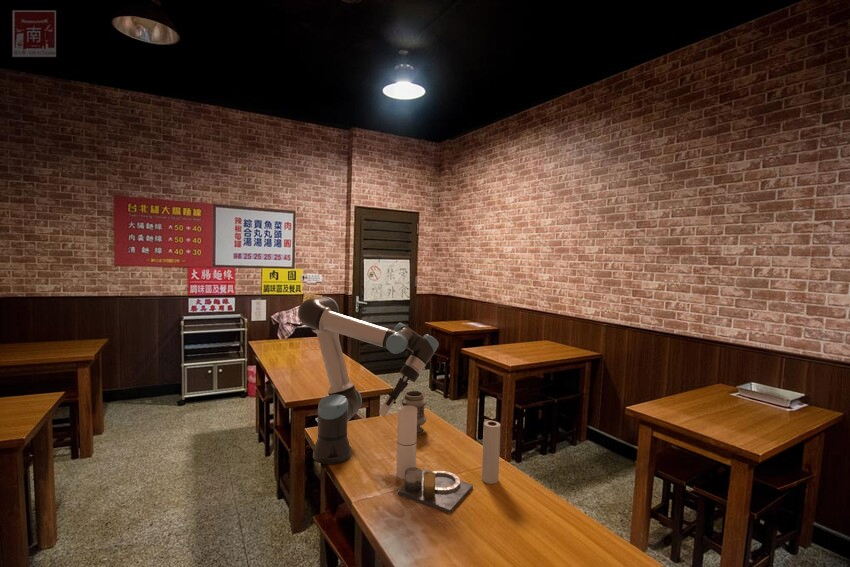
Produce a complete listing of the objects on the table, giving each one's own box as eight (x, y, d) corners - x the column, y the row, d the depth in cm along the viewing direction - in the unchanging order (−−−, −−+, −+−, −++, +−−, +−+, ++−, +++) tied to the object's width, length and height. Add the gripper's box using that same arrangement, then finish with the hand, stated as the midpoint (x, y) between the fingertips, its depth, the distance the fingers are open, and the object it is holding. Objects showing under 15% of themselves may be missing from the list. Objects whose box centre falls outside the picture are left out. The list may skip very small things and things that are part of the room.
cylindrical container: (392, 476, 155) (394, 409, 153) (402, 467, 161) (404, 404, 160) (409, 481, 151) (411, 413, 150) (418, 472, 158) (420, 407, 156)
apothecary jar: (396, 433, 193) (397, 395, 192) (405, 424, 204) (406, 388, 203) (421, 437, 189) (422, 398, 188) (429, 427, 201) (430, 390, 200)
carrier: (396, 494, 143) (397, 470, 142) (425, 470, 160) (425, 449, 159) (450, 513, 133) (450, 488, 132) (474, 486, 149) (475, 463, 149)
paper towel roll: (498, 485, 150) (500, 427, 149) (481, 483, 151) (483, 425, 150) (498, 475, 157) (500, 419, 156) (482, 473, 158) (484, 418, 157)
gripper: (422, 369, 159) (390, 417, 151) (417, 378, 182) (389, 421, 175) (406, 358, 160) (373, 405, 152) (403, 368, 183) (374, 410, 175)
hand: (381, 414), depth 163 cm, fingers open, 13 cm apart
